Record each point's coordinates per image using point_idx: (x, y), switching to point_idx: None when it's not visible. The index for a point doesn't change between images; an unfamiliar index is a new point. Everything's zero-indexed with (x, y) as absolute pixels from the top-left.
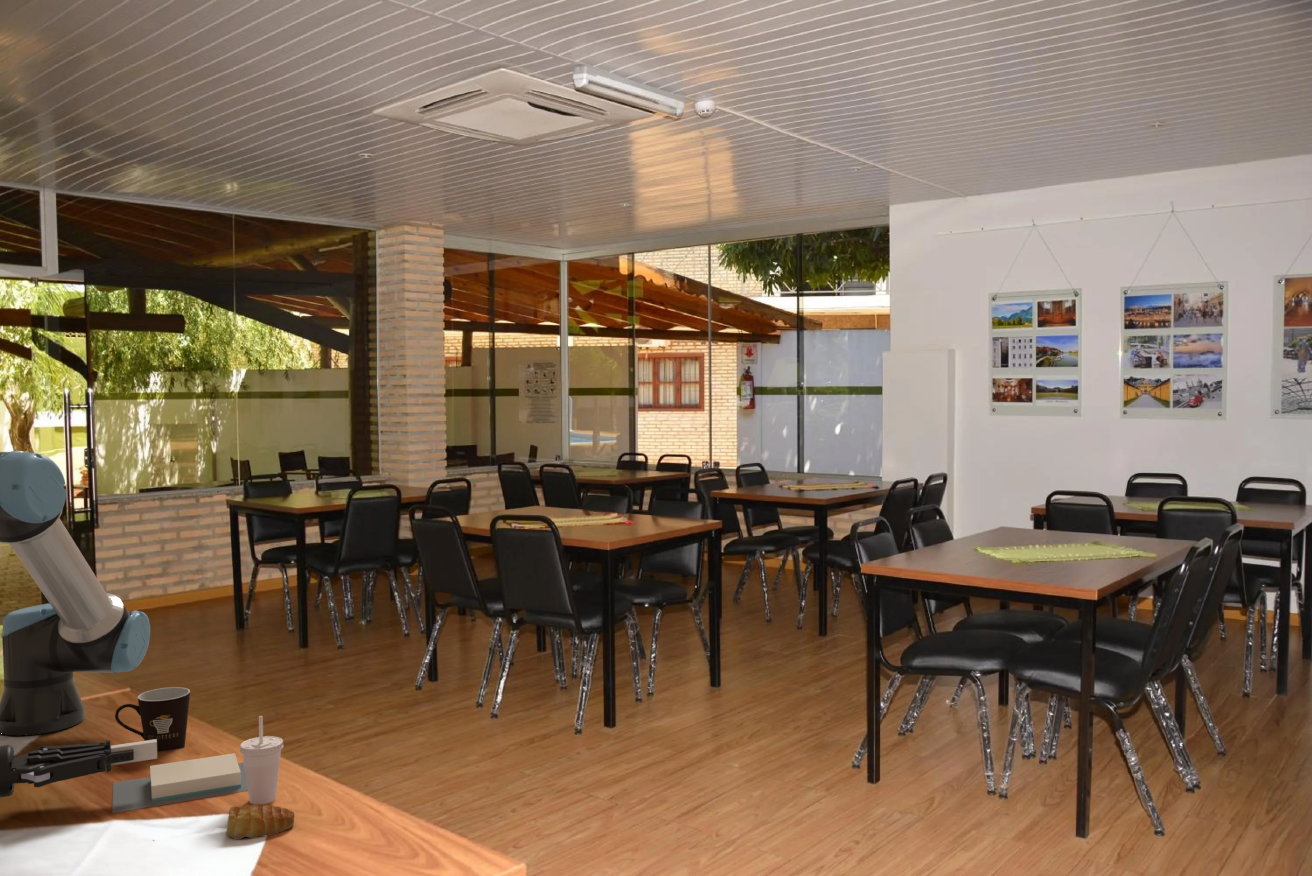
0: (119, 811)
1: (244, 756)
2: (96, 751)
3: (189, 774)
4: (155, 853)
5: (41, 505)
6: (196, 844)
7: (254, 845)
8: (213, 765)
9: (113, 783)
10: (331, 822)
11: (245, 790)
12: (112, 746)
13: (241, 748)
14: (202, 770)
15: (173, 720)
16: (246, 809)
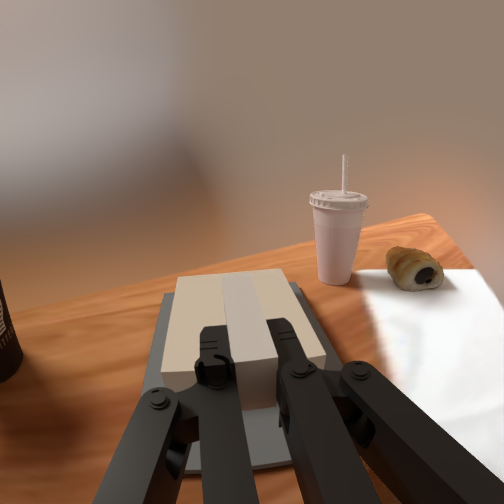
0: None
1: (358, 214)
2: (295, 404)
3: (266, 312)
4: (491, 330)
5: None
6: (458, 306)
7: (444, 273)
8: None
9: None
10: (385, 246)
11: (295, 286)
12: (249, 356)
13: (355, 203)
14: None
15: (2, 301)
16: (421, 255)
